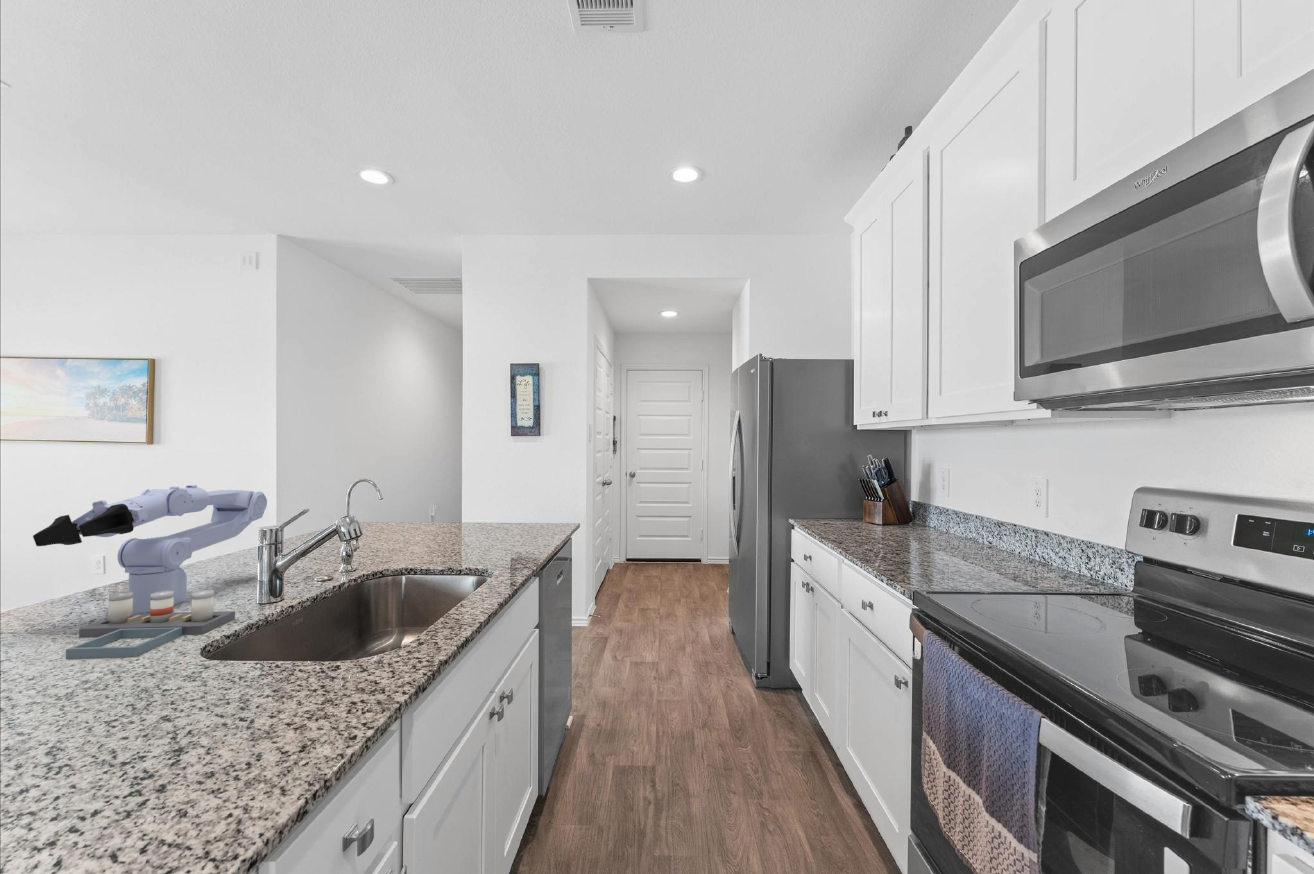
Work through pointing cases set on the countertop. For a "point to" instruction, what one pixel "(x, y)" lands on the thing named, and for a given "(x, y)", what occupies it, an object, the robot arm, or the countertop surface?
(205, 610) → the fuse
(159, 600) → the marked fuse
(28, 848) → the countertop surface
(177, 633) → the tray
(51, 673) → the countertop surface
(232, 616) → the fuse holder
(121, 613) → the fuse
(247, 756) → the countertop surface
